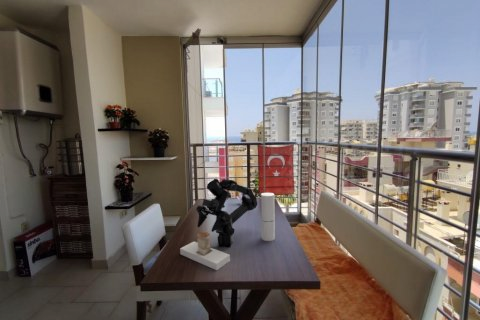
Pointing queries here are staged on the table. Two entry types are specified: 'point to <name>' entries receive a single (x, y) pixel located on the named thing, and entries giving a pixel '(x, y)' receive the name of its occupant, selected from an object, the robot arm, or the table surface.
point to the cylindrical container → (268, 216)
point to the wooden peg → (203, 243)
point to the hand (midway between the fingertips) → (204, 229)
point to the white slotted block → (211, 259)
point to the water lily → (241, 197)
